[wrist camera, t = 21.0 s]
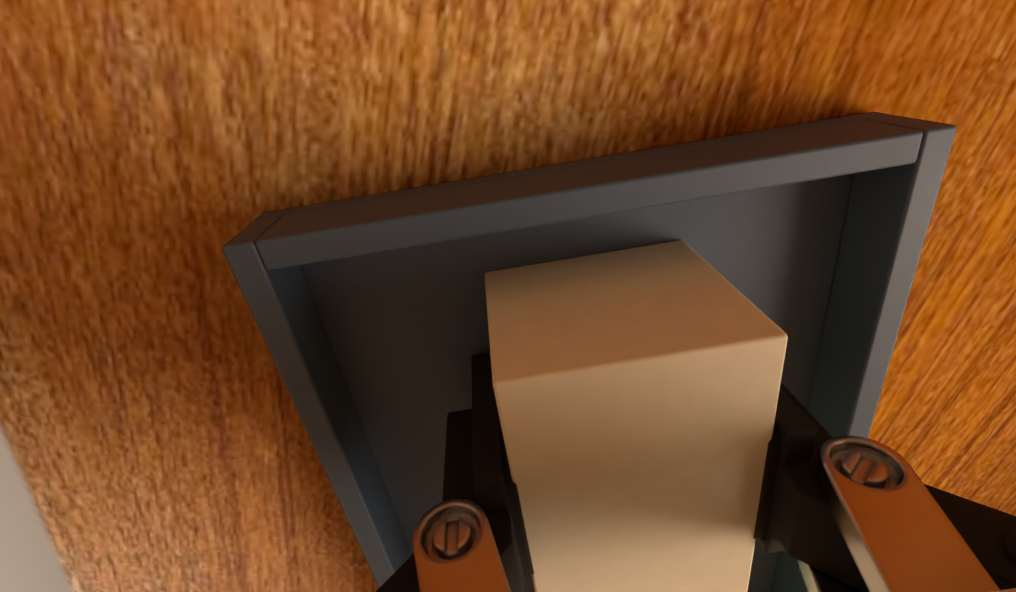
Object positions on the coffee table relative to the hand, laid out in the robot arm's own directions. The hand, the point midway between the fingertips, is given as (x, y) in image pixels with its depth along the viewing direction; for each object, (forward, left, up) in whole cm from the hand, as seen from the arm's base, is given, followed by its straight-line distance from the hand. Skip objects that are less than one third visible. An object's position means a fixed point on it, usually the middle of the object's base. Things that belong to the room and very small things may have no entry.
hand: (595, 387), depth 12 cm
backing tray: (0, -4, -1) cm, 4 cm away
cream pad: (0, 0, 0) cm, 0 cm away
